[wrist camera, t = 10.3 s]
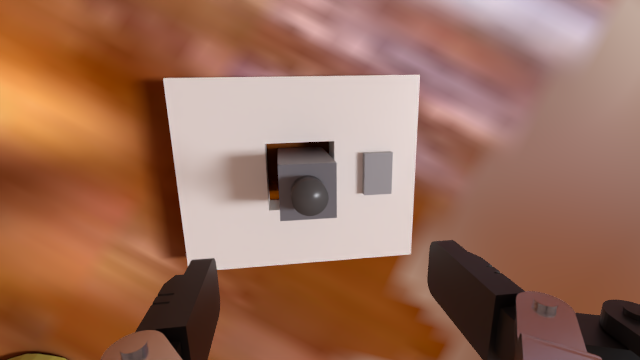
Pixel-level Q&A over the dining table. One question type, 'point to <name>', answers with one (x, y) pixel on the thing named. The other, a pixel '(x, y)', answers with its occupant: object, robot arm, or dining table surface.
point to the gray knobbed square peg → (307, 184)
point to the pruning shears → (36, 357)
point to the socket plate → (291, 127)
